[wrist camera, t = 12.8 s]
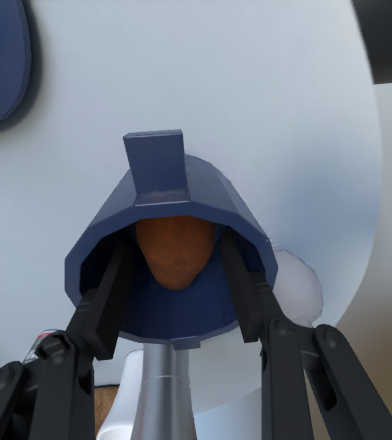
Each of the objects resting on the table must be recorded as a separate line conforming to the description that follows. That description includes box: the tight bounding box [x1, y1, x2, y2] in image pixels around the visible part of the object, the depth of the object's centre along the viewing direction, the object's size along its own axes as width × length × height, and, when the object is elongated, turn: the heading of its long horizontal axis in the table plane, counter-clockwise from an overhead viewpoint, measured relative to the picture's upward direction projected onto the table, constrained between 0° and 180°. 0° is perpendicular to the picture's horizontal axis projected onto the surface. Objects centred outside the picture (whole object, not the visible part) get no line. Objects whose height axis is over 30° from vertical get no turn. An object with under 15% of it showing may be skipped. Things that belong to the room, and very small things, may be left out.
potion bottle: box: [272, 247, 323, 328], centre depth 17 cm, size 9×9×18 cm
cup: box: [96, 350, 143, 440], centre depth 31 cm, size 9×9×10 cm
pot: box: [65, 129, 279, 351], centre depth 16 cm, size 13×18×10 cm
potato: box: [136, 215, 214, 290], centre depth 16 cm, size 7×9×6 cm
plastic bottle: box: [130, 343, 197, 440], centre depth 20 cm, size 6×7×20 cm
